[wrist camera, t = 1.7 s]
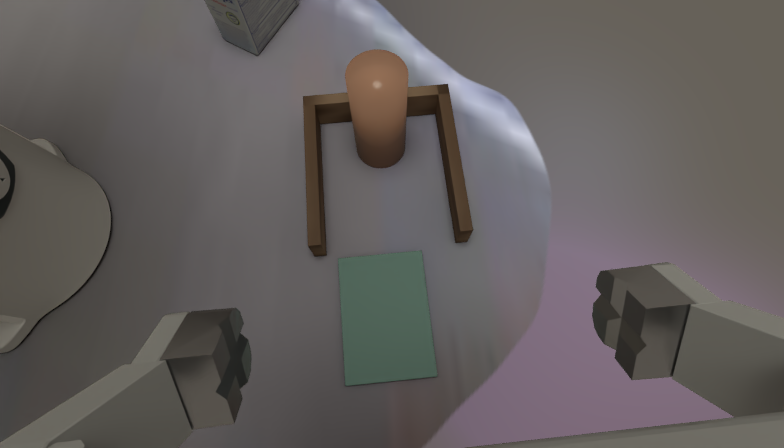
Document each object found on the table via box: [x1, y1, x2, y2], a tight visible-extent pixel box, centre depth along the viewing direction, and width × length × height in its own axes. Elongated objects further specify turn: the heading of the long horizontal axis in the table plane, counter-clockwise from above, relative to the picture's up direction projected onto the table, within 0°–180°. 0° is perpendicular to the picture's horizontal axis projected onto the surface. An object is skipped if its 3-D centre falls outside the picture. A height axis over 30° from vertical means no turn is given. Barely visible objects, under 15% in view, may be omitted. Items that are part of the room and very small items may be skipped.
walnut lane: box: [303, 84, 473, 256], centre depth 38 cm, size 13×14×3 cm
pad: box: [338, 251, 437, 386], centre depth 35 cm, size 7×10×1 cm
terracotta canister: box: [345, 50, 408, 168], centre depth 36 cm, size 4×4×10 cm
